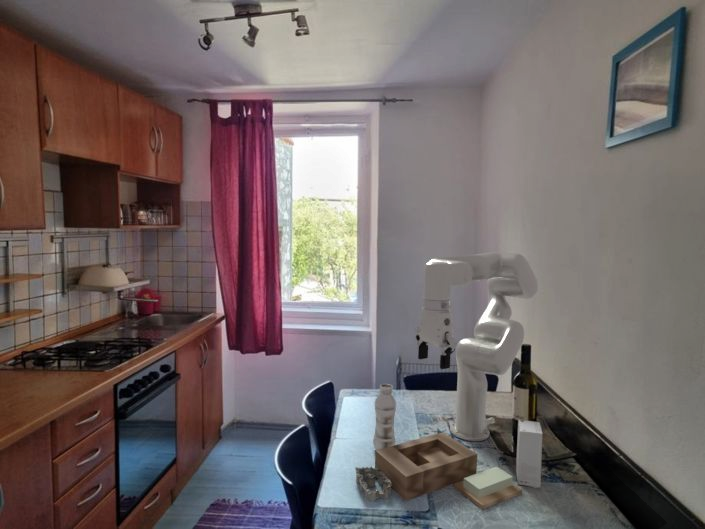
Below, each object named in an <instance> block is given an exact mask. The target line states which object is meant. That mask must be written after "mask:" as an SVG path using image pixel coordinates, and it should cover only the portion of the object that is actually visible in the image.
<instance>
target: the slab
mask: <svg viewBox="0 0 705 529" xmlns="http://www.w3.org/2000/svg"><path fill="white" fill-rule="evenodd" d="M513 480H514V479H513V476H512V475H511V474H509V473H507V472H506V471H505V470H503V469H501V468H500V467H498V466H494V467H492V468H489V469H486V470H482V471H480V472H476V474H474V475H471V476H468V477H466V478H464V483H463V487H464V488H465V489H467V490H468V491H469V492H471V493H472V494H473V495H475V496H476V497H477V498H481V497H484V496H487V495H489V494H492V493H494V492H497V491H499V490H502V489H504V488H507V487H510V486H512V483H513Z"/></svg>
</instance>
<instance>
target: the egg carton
mask: <svg viewBox="0 0 705 529" xmlns="http://www.w3.org/2000/svg"><path fill="white" fill-rule="evenodd" d="M354 469H355V474H356V477H355V482H356V484H359V489H360V491H361V492H364V499H365V500H369V501H371V502H375V500H377V499H378V498H382V497H383V498H382V499H384V500H386V499H387V498H388V499H389V496H391V492H392V489H391V486H392V483H391V481H390V479H389V478H387V477H386V476H385V474H384V473H383V472H381V471H379V468H378V467H376V468H375V467H373V466H370V467H369V466H367V467H365V466H362V467H355V468H354ZM376 477H377V478H376ZM376 479H378V480H377V481H378V484H379V483H380V484H383V485H382V489H377V488H375V489H372V490H371V489H368V488H374V487H375V486H376ZM364 480H366V481H364ZM380 484H379V485H380ZM376 489H377V491H376ZM383 490H384V491H383ZM377 497H378V498H377ZM388 499H387V500H388Z"/></svg>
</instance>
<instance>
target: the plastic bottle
mask: <svg viewBox="0 0 705 529" xmlns="http://www.w3.org/2000/svg"><path fill="white" fill-rule="evenodd" d="M378 391H379V393H378V395H377V397H376V398H375V400H374V412H375V429H374V436H373V442H372V444H373V448H374V449H375V450H379V449H383V448H387V447H390V446H394V445H396V436H395V426H394V425H395V416H396V411H397V410H396V409H397V401H396V398H395V397H394V396H393V392H394V390H393V385H392V384H388V383H382V384H380V386H379V390H378Z"/></svg>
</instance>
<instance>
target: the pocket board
mask: <svg viewBox="0 0 705 529" xmlns="http://www.w3.org/2000/svg"><path fill="white" fill-rule="evenodd" d="M374 452H375V454H374V457H375V458H374V468H376V467H378V468H379V471H381V472H383V473H384V474H385V476H386V477H387V478H389V479H390V481H391V483H392V486H391V491H393V492H395V493H396V494H397V496H398V497H400V498H401V499H402V500H403V501H404V502H407V501H411V500H412V499H417V498H419V497H421V496H422V497H423V496H424V495H429V494H430V493H433V492H436V491H439V490H442V489H444V488H447V487H451V486H454V483H457V482H460V481H463V480H464V478H466V477H468V476H471V475H474V474H477V472H478V471H477V467H478V453H477V452H475V451H474V450H472V449H470V448H469V447H467V446H466V445H464V444H462V443H461V442H459V441H458V440H456V439H454V438H453V437H451V436H450V435H448V434H446V433H445V432H438V433H436V434H432V435H428V436H424V437H421V438H417V439H412V440H410V441H405V442H403V443H399V444H395V445H394V446H390V447H387V448H383V449H379V450H376V449H375V451H374Z"/></svg>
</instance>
